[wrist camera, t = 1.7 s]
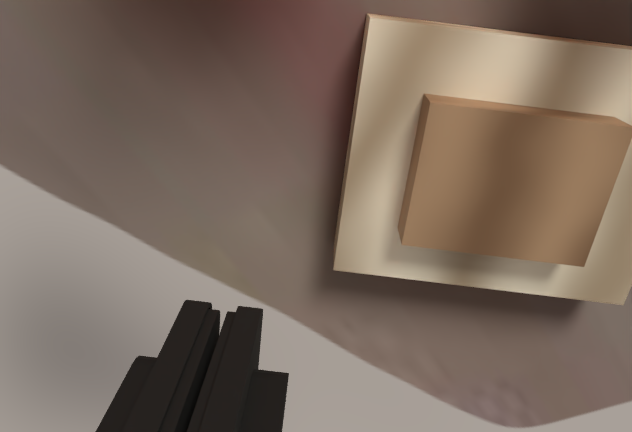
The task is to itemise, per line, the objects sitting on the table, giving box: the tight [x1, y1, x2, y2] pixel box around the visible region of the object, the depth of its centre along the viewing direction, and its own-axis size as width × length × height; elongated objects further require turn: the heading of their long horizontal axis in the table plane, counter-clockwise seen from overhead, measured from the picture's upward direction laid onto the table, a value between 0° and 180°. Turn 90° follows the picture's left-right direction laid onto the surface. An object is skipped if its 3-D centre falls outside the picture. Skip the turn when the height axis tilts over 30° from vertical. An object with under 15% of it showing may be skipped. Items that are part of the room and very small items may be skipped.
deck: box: [333, 13, 632, 305], centre depth 28 cm, size 16×13×3 cm
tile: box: [398, 93, 632, 267], centre depth 25 cm, size 9×7×2 cm
